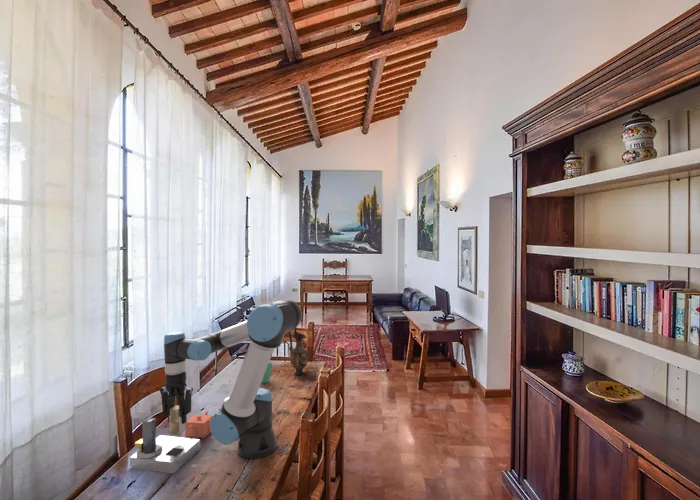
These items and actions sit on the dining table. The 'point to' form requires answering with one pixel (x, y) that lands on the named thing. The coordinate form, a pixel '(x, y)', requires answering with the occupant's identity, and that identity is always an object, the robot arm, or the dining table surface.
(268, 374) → the mug
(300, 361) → the vase
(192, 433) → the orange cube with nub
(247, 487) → the dining table surface
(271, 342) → the robot arm
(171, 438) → the white base plate
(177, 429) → the tan wooden block
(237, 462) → the dining table surface
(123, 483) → the dining table surface
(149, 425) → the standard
